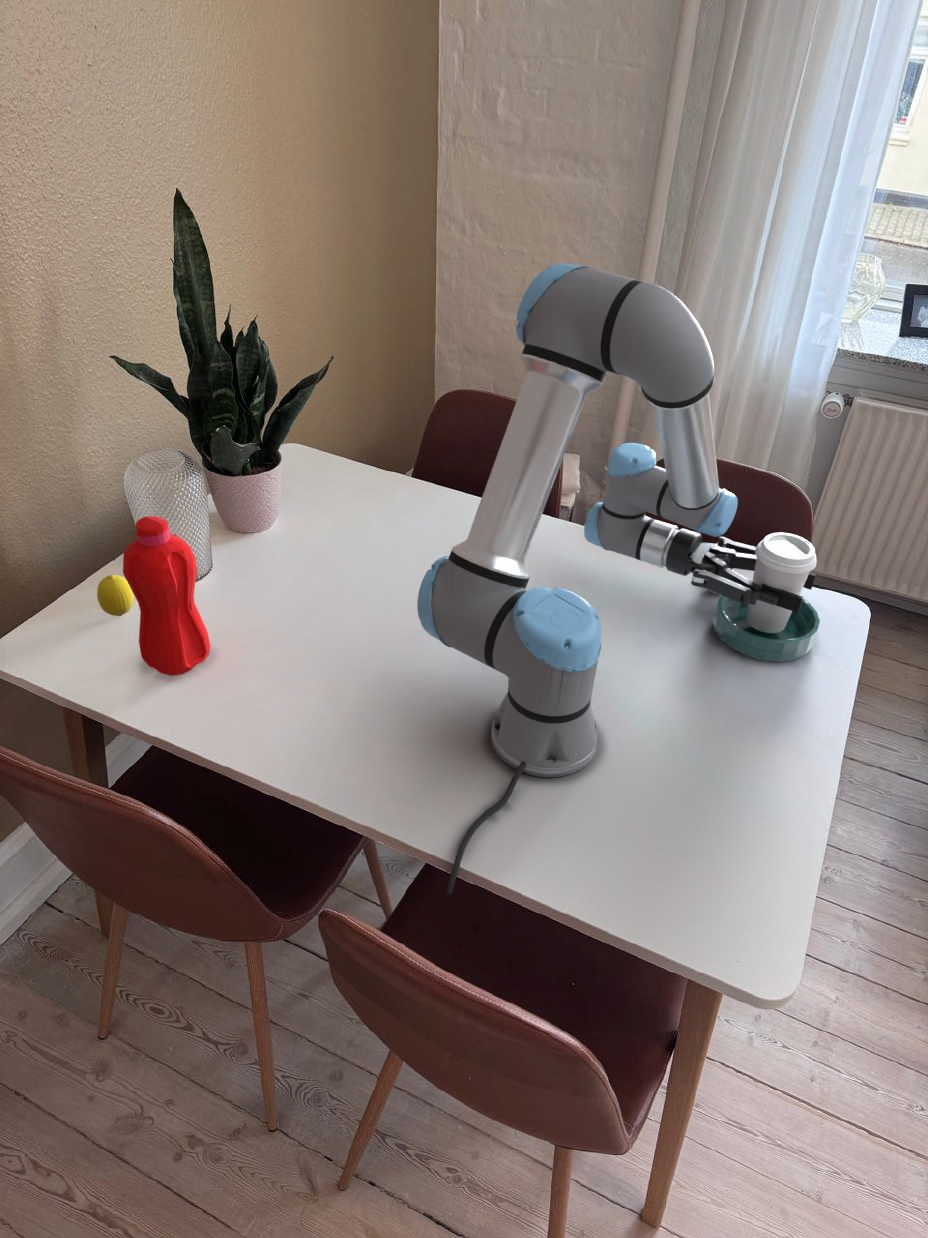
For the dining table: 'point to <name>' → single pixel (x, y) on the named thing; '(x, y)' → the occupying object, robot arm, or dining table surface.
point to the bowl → (762, 644)
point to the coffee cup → (779, 576)
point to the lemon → (115, 595)
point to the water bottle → (165, 598)
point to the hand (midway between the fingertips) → (807, 593)
